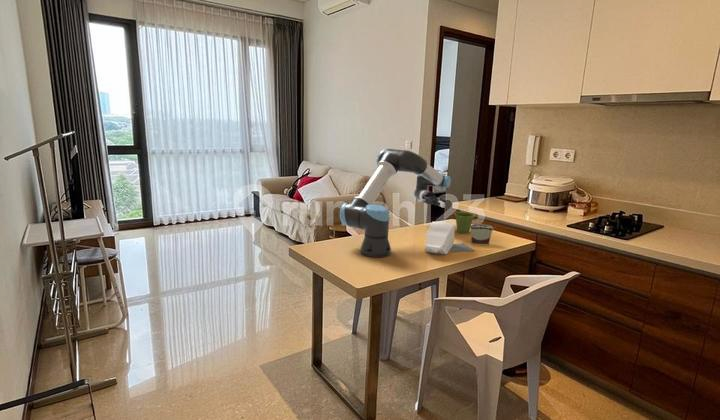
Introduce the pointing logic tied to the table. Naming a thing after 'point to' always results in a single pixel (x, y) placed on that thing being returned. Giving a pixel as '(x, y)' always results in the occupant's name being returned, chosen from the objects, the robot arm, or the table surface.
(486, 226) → the food container
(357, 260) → the table surface
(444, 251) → the milk
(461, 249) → the mat
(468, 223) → the plant pot
